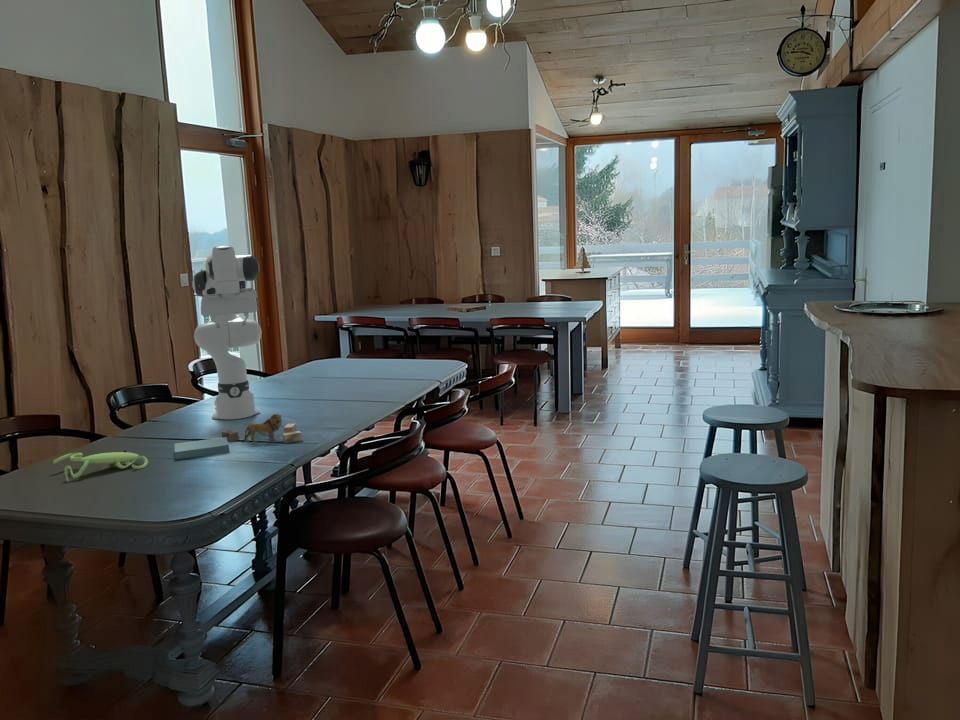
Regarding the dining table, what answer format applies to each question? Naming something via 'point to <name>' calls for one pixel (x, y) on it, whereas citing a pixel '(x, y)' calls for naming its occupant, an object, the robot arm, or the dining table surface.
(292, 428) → the terracotta brick
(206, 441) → the teal slab
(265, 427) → the lion figurine
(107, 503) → the dining table surface
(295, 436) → the oak brick
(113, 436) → the dining table surface
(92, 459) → the figurine
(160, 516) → the dining table surface
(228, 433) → the walnut brick
